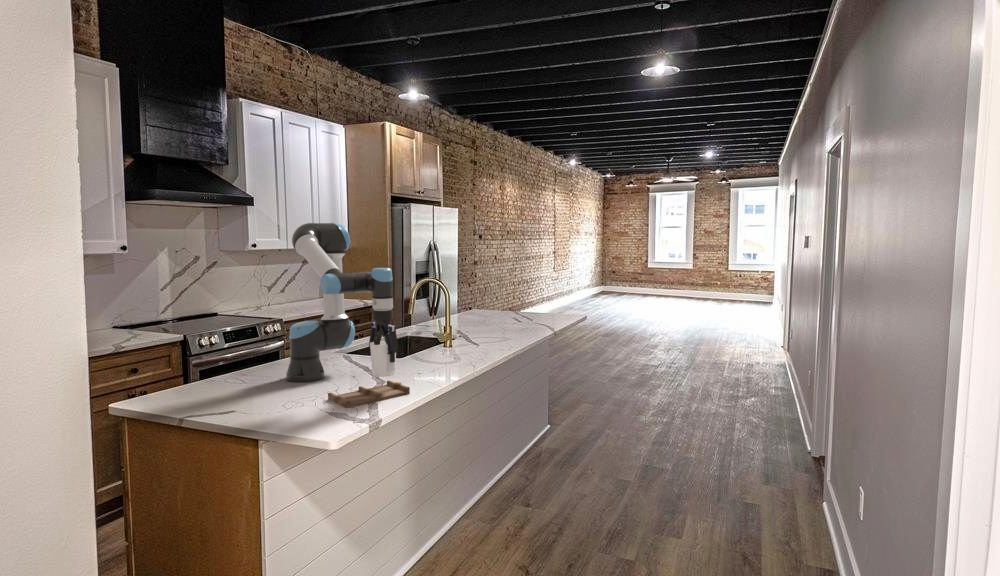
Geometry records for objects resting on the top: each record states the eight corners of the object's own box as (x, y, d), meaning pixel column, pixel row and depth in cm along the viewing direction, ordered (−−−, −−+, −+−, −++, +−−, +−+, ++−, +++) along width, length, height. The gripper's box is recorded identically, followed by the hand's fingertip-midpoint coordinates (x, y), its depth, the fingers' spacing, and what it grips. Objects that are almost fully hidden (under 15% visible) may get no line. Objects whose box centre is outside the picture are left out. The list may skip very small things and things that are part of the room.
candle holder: (398, 376, 211) (398, 344, 209) (371, 378, 207) (371, 345, 206) (395, 370, 220) (394, 339, 219) (369, 372, 217) (368, 341, 216)
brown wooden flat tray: (328, 399, 206) (327, 391, 206) (390, 386, 225) (390, 378, 224) (347, 408, 196) (347, 399, 196) (411, 393, 215) (411, 385, 214)
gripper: (358, 307, 217) (359, 365, 219) (390, 313, 201) (391, 375, 203) (375, 306, 222) (376, 362, 224) (408, 311, 206) (409, 371, 208)
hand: (383, 368), depth 213 cm, fingers closed on candle holder, 9 cm apart
